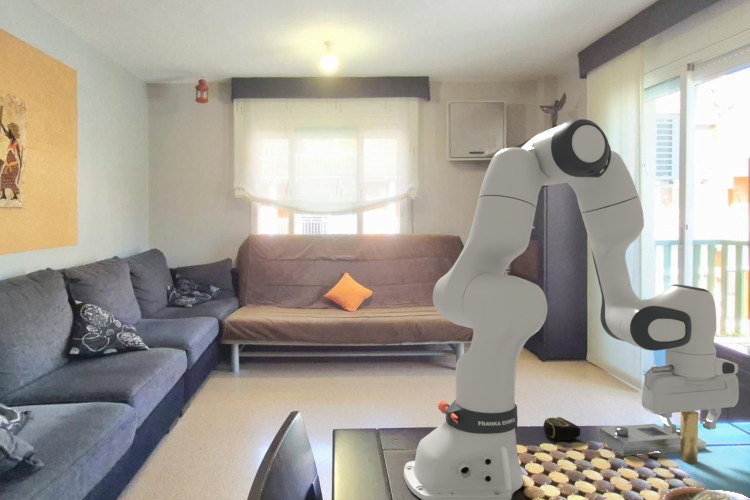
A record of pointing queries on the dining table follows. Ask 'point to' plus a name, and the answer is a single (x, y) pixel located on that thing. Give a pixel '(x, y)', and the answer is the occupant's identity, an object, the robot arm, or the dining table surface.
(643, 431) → the gray slab
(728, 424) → the dining table surface
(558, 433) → the tape measure
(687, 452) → the pin
